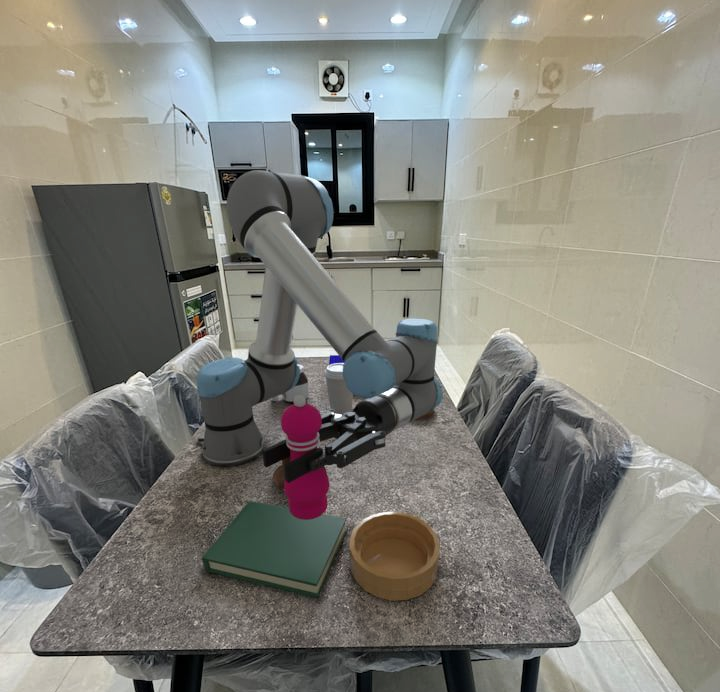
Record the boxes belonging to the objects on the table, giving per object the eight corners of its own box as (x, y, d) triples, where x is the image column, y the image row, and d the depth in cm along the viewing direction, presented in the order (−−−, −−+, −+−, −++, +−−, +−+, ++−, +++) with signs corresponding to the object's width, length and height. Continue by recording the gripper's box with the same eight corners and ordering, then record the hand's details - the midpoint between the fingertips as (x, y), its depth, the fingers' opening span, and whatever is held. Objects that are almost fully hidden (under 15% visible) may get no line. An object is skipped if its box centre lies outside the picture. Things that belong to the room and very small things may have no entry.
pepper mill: (312, 528, 58) (302, 410, 50) (277, 512, 62) (262, 399, 54) (339, 502, 64) (334, 392, 56) (305, 488, 68) (296, 383, 60)
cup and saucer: (332, 491, 83) (330, 467, 81) (276, 502, 80) (272, 477, 78) (321, 462, 94) (319, 440, 91) (271, 470, 91) (268, 448, 88)
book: (204, 571, 64) (201, 557, 63) (251, 512, 77) (249, 500, 76) (317, 598, 59) (316, 584, 58) (346, 530, 72) (346, 518, 71)
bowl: (339, 590, 60) (337, 566, 58) (363, 526, 73) (363, 505, 71) (432, 612, 56) (435, 587, 54) (441, 541, 69) (443, 519, 67)
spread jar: (312, 402, 127) (310, 369, 122) (281, 411, 121) (277, 376, 116) (297, 391, 136) (294, 359, 131) (266, 398, 130) (262, 366, 125)
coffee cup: (353, 421, 114) (352, 373, 108) (322, 418, 116) (319, 371, 110) (359, 407, 122) (358, 362, 116) (330, 405, 124) (328, 361, 118)
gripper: (420, 449, 66) (316, 515, 51) (348, 417, 78) (245, 464, 63) (422, 410, 63) (312, 468, 48) (347, 383, 75) (239, 423, 60)
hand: (275, 466), depth 55 cm, fingers closed on pepper mill, 5 cm apart
